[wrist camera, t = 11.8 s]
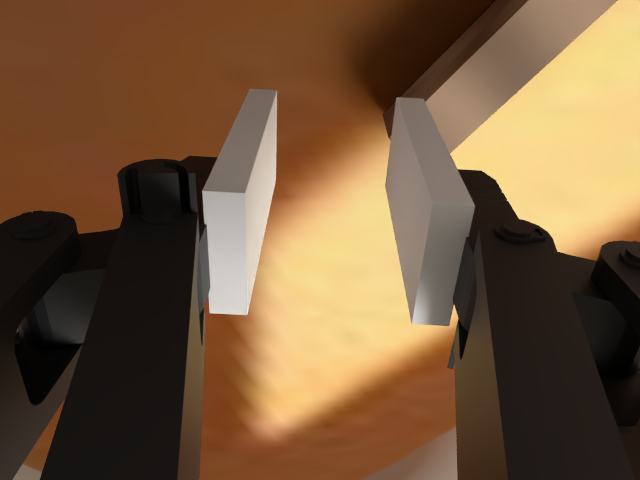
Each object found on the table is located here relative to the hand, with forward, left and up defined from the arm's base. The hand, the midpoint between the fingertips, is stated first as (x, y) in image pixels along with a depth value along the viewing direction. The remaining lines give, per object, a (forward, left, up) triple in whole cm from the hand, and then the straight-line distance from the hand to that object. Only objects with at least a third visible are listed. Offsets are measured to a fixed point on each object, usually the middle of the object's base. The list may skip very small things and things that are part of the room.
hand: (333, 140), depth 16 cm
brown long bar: (+6, +7, -14) cm, 17 cm away
